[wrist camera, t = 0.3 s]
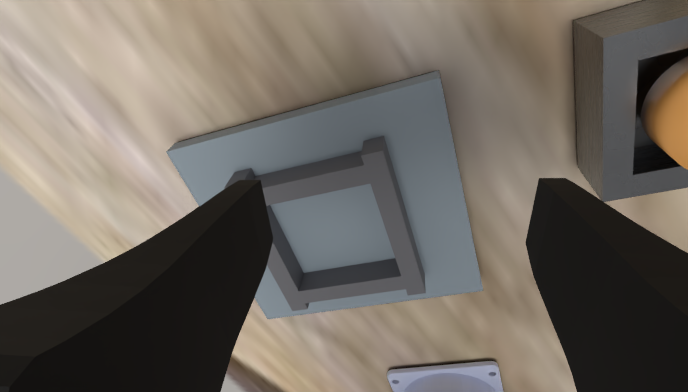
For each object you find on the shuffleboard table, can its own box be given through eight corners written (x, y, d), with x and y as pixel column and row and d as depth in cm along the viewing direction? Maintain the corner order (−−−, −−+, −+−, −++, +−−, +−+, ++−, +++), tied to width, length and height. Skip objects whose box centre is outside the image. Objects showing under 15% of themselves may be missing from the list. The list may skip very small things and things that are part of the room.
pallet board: (480, 278, 25) (487, 310, 23) (271, 307, 28) (261, 337, 26) (438, 70, 18) (443, 89, 16) (175, 143, 22) (151, 166, 20)
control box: (750, 133, 18) (805, 166, 16) (577, 167, 20) (602, 202, 18) (786, -40, 15) (864, -32, 12) (573, 20, 17) (603, 38, 14)
